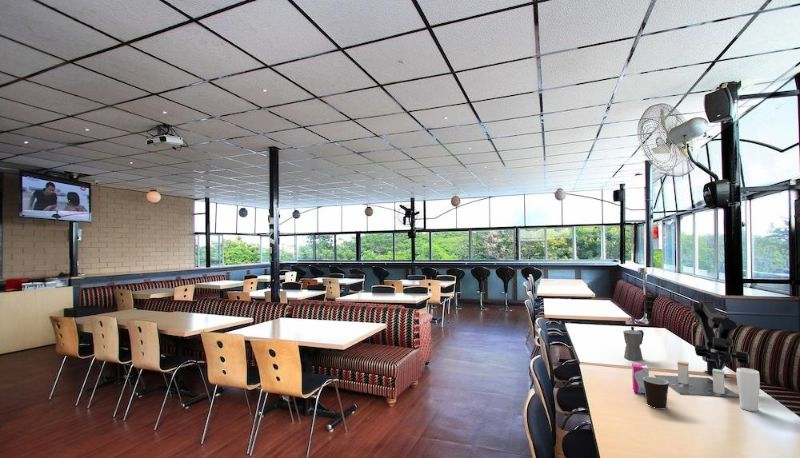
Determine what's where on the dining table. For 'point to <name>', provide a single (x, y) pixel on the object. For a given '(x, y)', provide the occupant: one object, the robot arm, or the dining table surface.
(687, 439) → the dining table surface
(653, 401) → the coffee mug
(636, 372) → the supplement box
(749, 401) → the white rounded cylinder
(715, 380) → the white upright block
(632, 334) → the coffeepot
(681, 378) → the terracotta slider
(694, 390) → the switch panel
